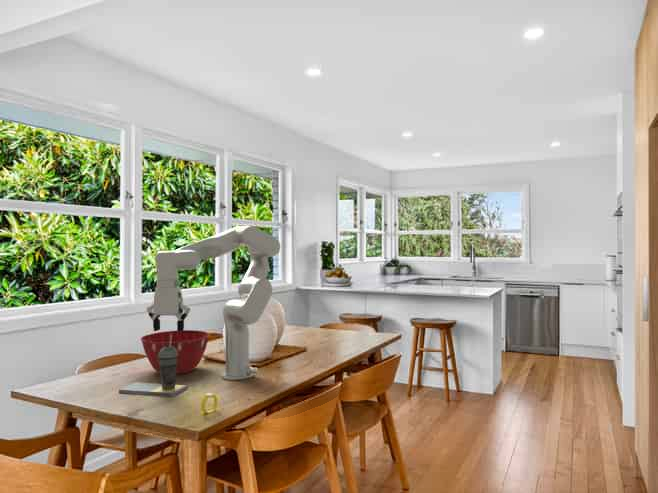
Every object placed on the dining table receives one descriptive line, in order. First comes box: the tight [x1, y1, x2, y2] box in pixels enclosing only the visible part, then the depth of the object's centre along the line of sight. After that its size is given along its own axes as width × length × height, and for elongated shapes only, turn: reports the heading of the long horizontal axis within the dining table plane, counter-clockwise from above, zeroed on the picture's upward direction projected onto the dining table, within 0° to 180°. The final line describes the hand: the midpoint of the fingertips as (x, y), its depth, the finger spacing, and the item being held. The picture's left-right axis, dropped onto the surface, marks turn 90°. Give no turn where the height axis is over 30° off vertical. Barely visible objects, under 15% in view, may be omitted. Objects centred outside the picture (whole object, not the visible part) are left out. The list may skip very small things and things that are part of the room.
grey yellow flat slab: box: [118, 382, 188, 397], centre depth 183 cm, size 22×10×1 cm, turn 77°
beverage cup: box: [158, 334, 179, 390], centre depth 181 cm, size 7×7×20 cm
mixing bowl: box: [140, 329, 210, 376], centre depth 213 cm, size 28×28×16 cm
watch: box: [201, 392, 219, 415], centre depth 158 cm, size 6×3×6 cm, turn 149°
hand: (168, 330), depth 182 cm, fingers open, 9 cm apart
